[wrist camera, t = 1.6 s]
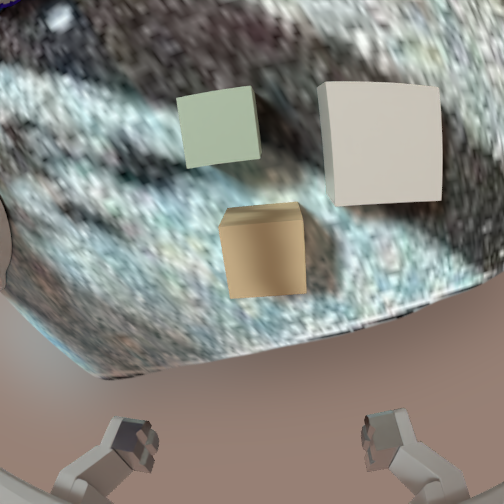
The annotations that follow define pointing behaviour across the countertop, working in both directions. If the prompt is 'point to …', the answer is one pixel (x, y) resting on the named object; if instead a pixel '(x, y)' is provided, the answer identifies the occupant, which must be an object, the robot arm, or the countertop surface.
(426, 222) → the countertop surface
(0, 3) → the toy car
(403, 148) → the pedestal
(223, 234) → the oak block
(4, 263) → the robot arm
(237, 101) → the green cube
